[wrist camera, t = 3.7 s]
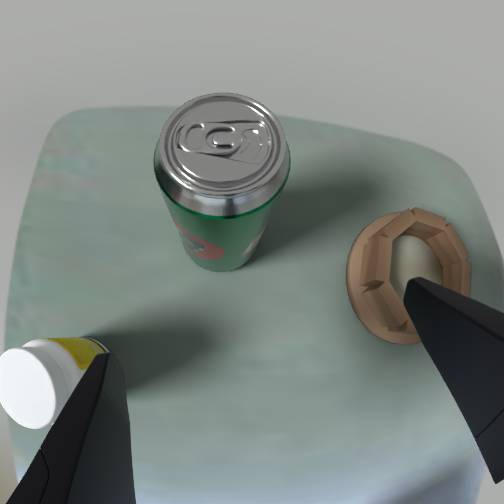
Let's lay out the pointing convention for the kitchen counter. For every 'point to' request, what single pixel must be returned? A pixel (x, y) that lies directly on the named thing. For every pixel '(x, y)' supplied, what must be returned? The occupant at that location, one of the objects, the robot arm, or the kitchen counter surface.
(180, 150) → the soda can
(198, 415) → the kitchen counter surface
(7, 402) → the supplement bottle
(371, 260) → the holder
